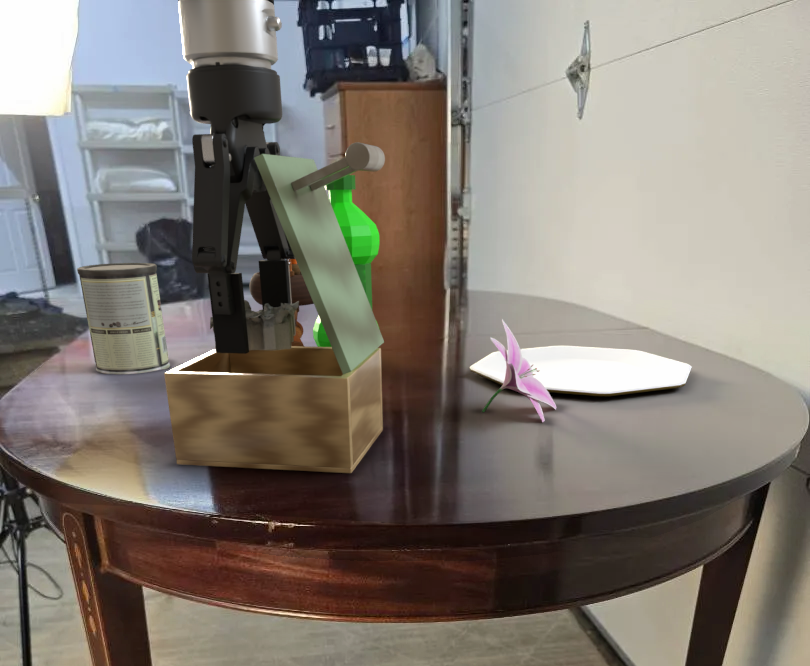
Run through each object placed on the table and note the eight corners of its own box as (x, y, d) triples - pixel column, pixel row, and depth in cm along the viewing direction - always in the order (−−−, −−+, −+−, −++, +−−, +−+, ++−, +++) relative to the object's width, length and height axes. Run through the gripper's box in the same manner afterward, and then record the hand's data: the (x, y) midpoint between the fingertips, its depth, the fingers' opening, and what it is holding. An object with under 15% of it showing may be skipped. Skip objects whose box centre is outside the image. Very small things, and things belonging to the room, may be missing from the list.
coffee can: (87, 367, 112) (68, 265, 107) (156, 359, 118) (142, 261, 112) (107, 380, 105) (88, 271, 99) (180, 370, 110) (167, 266, 104)
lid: (253, 157, 59) (344, 113, 57) (306, 162, 71) (382, 126, 69) (342, 374, 65) (428, 342, 62) (377, 344, 77) (450, 317, 75)
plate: (544, 413, 87) (544, 400, 86) (442, 366, 110) (442, 356, 110) (735, 388, 96) (737, 377, 96) (604, 350, 120) (605, 340, 119)
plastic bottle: (300, 358, 117) (287, 176, 107) (358, 349, 123) (351, 176, 112) (335, 369, 110) (325, 174, 99) (395, 359, 115) (391, 174, 105)
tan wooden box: (177, 468, 71) (163, 372, 68) (232, 426, 83) (224, 344, 80) (351, 477, 69) (347, 378, 65) (383, 433, 81) (380, 348, 77)
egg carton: (228, 334, 77) (224, 291, 75) (304, 332, 77) (301, 289, 75) (205, 354, 67) (199, 305, 66) (291, 353, 67) (287, 304, 66)
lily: (500, 447, 79) (553, 366, 75) (426, 386, 84) (472, 307, 80) (553, 454, 88) (602, 382, 85) (484, 398, 94) (527, 328, 90)
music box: (354, 391, 97) (334, 220, 88) (270, 408, 94) (240, 232, 85) (317, 368, 110) (296, 217, 101) (242, 382, 106) (213, 227, 97)
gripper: (218, 41, 52) (249, 367, 61) (318, 83, 73) (330, 320, 82) (115, 46, 53) (161, 365, 62) (242, 86, 74) (262, 319, 83)
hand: (257, 340), depth 72 cm, fingers closed on egg carton, 11 cm apart
